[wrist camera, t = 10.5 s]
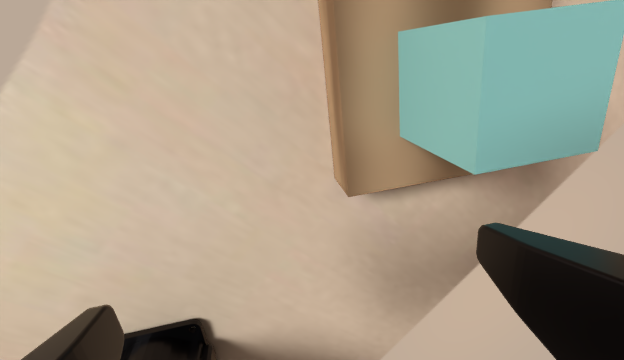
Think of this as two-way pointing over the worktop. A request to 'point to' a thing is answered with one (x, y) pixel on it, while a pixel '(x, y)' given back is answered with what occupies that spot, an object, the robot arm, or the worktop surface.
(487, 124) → the teal block
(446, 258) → the worktop surface
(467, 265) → the worktop surface
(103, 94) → the worktop surface
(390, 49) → the oak base
